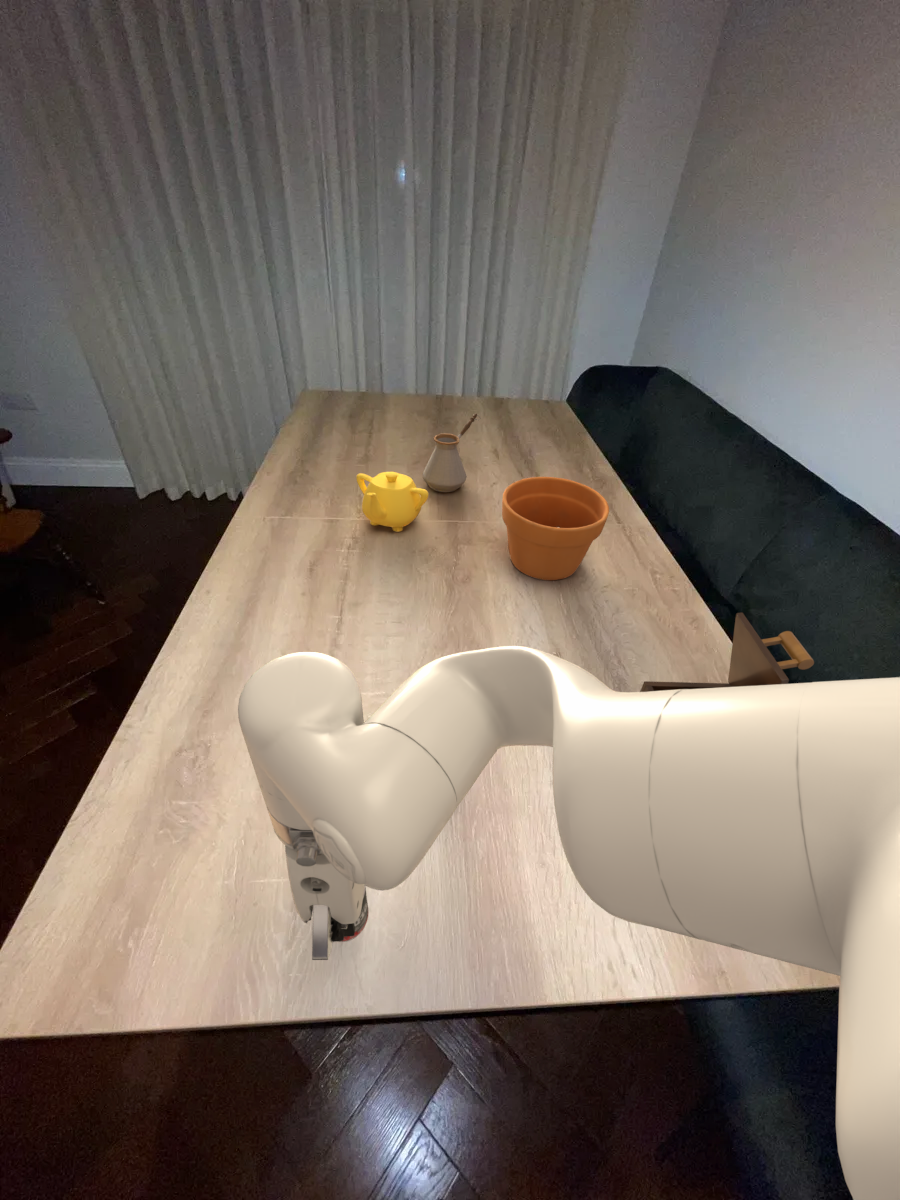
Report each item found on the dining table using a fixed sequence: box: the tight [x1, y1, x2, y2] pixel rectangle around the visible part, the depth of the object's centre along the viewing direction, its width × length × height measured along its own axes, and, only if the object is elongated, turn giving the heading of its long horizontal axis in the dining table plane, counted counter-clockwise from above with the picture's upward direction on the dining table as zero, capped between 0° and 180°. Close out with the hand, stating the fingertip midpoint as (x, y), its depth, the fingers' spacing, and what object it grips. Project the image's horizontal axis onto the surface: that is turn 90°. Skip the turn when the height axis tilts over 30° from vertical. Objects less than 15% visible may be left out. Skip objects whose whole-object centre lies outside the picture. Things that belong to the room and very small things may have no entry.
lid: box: [727, 611, 815, 687], centre depth 68 cm, size 14×12×6 cm
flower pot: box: [501, 476, 610, 581], centre depth 109 cm, size 21×21×15 cm
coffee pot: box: [422, 413, 481, 493], centre depth 138 cm, size 21×12×15 cm, turn 148°
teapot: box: [355, 471, 429, 533], centre depth 120 cm, size 14×14×12 cm
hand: (341, 900), depth 51 cm, fingers closed on pill bottle, 4 cm apart
